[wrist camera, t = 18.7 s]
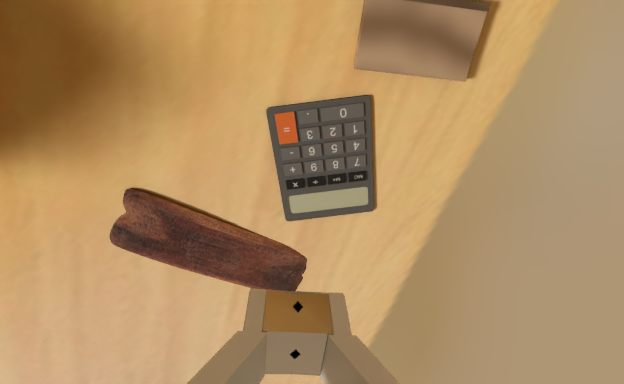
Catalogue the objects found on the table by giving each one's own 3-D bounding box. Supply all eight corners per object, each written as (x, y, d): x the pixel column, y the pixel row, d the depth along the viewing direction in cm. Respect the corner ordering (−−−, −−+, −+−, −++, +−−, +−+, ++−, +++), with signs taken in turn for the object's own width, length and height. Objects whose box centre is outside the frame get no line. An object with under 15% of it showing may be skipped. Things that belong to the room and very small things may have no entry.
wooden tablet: (318, 260, 46) (286, 313, 49) (316, 252, 48) (286, 303, 51) (123, 184, 39) (100, 250, 42) (131, 178, 41) (108, 241, 44)
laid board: (460, 79, 36) (465, 81, 35) (353, 67, 35) (355, 69, 34) (483, 3, 33) (490, 3, 31) (366, -13, 32) (369, -14, 30)
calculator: (370, 95, 36) (374, 211, 43) (369, 93, 37) (372, 208, 44) (265, 108, 36) (286, 222, 43) (266, 106, 37) (286, 218, 44)
